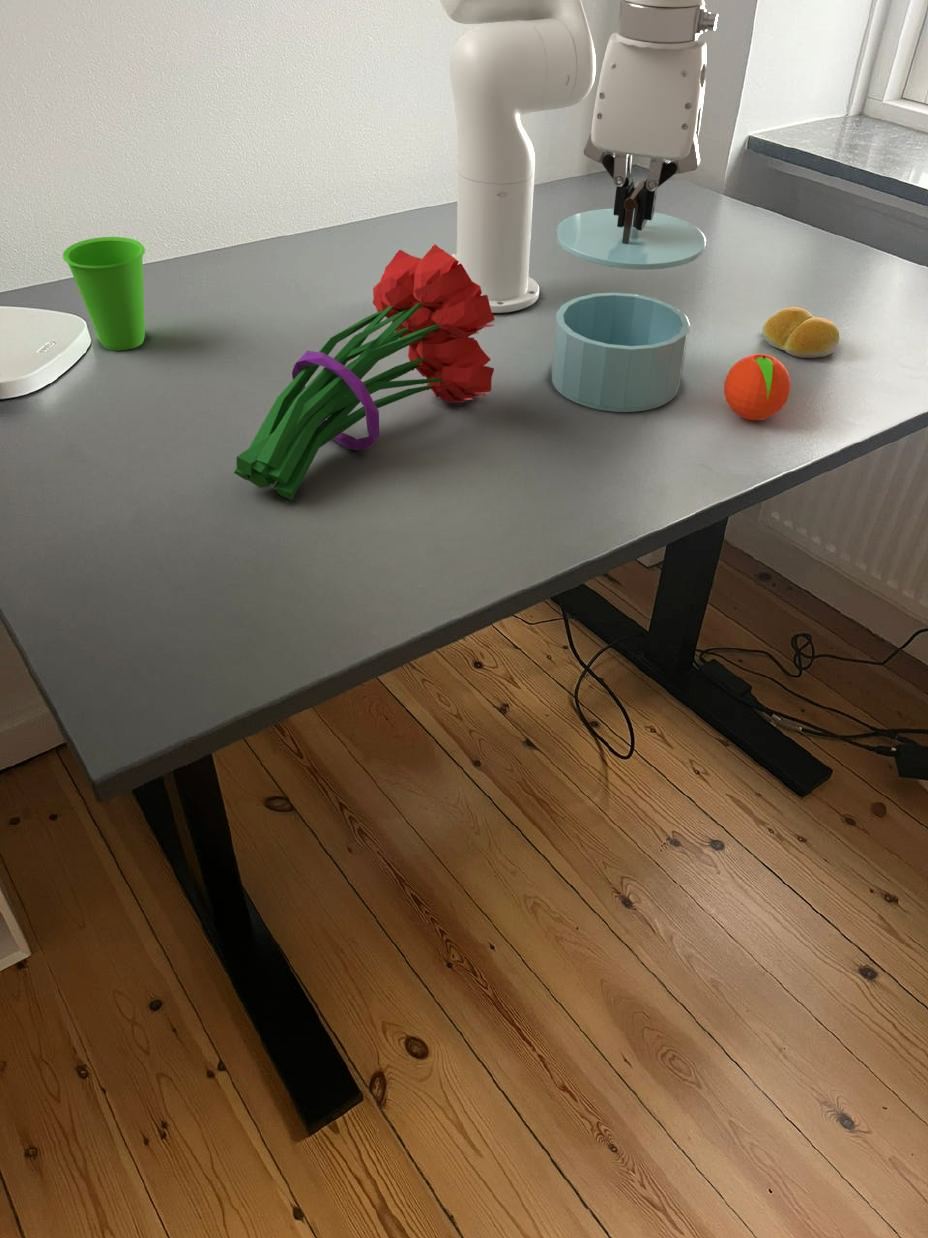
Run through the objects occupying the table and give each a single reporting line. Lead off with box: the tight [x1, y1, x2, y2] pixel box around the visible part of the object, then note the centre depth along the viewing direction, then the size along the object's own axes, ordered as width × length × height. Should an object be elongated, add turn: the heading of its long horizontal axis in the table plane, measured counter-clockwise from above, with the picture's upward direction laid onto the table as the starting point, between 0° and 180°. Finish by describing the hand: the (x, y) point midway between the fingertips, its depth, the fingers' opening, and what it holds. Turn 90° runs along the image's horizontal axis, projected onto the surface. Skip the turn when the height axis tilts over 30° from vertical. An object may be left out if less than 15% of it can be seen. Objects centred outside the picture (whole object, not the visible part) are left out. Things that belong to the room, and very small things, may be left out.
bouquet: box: [233, 243, 495, 501], centre depth 101 cm, size 20×16×30 cm
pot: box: [550, 292, 691, 413], centre depth 114 cm, size 15×15×8 cm
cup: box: [62, 236, 146, 351], centre depth 119 cm, size 9×9×11 cm
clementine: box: [723, 353, 792, 421], centre depth 108 cm, size 8×7×7 cm
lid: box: [555, 179, 707, 270], centre depth 105 cm, size 16×16×6 cm
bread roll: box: [762, 306, 840, 359], centre depth 124 cm, size 8×9×4 cm
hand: (632, 223), depth 105 cm, fingers closed on lid, 1 cm apart
